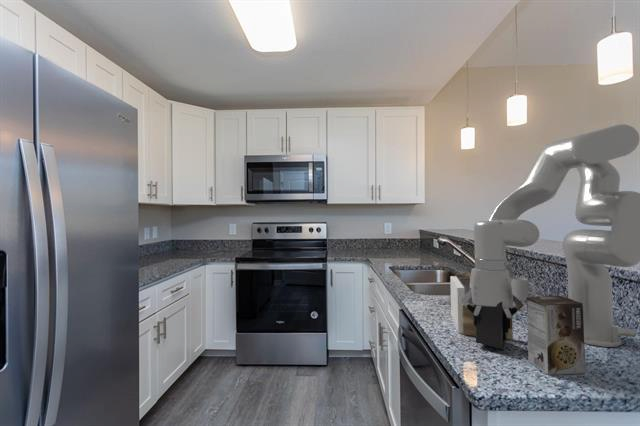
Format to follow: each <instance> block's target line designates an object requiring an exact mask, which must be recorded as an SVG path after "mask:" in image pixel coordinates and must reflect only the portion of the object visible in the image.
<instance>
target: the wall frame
mask: <svg viewBox="0 0 640 426" xmlns="http://www.w3.org/2000/svg"><path fill="white" fill-rule="evenodd" d="M449 277H450V295H451V306H450V315H451V318H452V320H453V323H454V325H455V328H456V331H457V333H458V334H462V335H464V334H463V317H462V304H463V303H462V302H461V301H460V299H461V298H462V297H463V296H465V288H464V287H463V285H462V284H461V282H460V281H459V280H458V278H457V277H456V276H455V275H454V276H453V275H451V276H449Z"/></svg>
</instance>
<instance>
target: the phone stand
mask: <svg viewBox="0 0 640 426" xmlns="http://www.w3.org/2000/svg"><path fill="white" fill-rule="evenodd" d="M504 314H505V312H504V310H503V307H502V302H500V303H498V304H497V307H486V306H482V307H481V309H480V312H479V316H480V317H481V320H480V323H479V324H478V319H477V331H476V336H475V343H477V344H481V345H484V346H489V347H492V348H497V349H502V347H503V346H504V345H505V343H506V341H507V340H508V339H507V333H506V332H505V331H504V330H503V317H504Z"/></svg>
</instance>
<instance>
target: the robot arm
mask: <svg viewBox="0 0 640 426" xmlns="http://www.w3.org/2000/svg"><path fill="white" fill-rule="evenodd" d="M639 144H640V134H639V132H638V131H637V129H636V128H635V127H633V126H631V125H628V124H625V123H624V124H623V123H622V124H615V125H612V126H609V127H605V128H602V129H597V130H593V131H589V132H585V133H582V134H578V135H575V136H571V137H567V138H563V139H559V140H555V141H552V142H550V143H548V144H546V145H544V146H543V147H542V148H541V150H540V152H539V153H538V154H537V156H536V158H535V160H534V161H533V163H532V166H531V167H530V169H529V170H528V173H527V174H526V175H525V178H524V180H523V182H522V183H521V184H520V185H519V186H517V188H515V189H514V190H513V191H511V192H510V194H509V195H508V196H506V197H505V198H504V199H503V200H501V202H500V203H499V204H498V205H497V206H496V208H495V209H494V211H493V213H492V214H491V216H490V217H489V219H488V220H479V221H477V222H475V223H474V225H473V235H474V236H473V239H474V240H473V242H474V245H473V247H474V267H473V268H471V271H470V275H469V276H470V291H469V292H468V293H467V294H466V295H465V296H463V297H462V298H461V299H460V301H461V302H462V303H463V304H464V305H465V306H466V307H467V308H468V309H469V310H470V311H471V312H472V313H473V322H474V326H476V328H477V319H478V324H479V323H480V320H481V317H480V316H479V312H480V309H481V307H482V306H486V307H497V304H498V303H500V302H502V307H503V310H504V312H505V314H504V317H503V330H504V331H505V332H506V333H508V329H510V318H511V317H512V318H513V316H514V315H515V314H516V313H517V312H518V311H519V310H521V309H522V308H523V307H524V305H525V304H523V303H524V302H523V301H519V300H518V299H517V298H516V297H515V296H514V295H513V292H512V285H511V279H510V277H511V275H510V272H509V269H507V268H508V267H513V262H512V261H510V260H507V257H506V247H507V246H508V247H517V248H527V247H531V246H533V245H535V243H537V241H538V240H539V239H540V229H539V227H538V226H537V225H536V224H535V223H533V222H531V221H530V220H525V219H519V217H521V215H523V214H524V213H525V212H527V211H528V210H530V209H533V208H535V207H536V206H539V205H542V204H544V203H547V202H548V201H550V200H552V199H553V198H554V197H555V196H556V195H557V193H558V191H559V189H560V188H561V185H562V183H563V182H564V180H565V179H566V176H567V175H568V173H569V171H570V170H572V169H576V170H577V171H578V173H579V177H580V182H579V189H578V195H577V199H576V206H575V211H574V212H575V213H574V214H575V215H574V216H575V218H576V220H577V221H578V222H579V223H581V224H583V225H587V226H597V227H611V229H610V230H605V229H589V228H588V229H585V228H583V229H576V230H572V231H570V232H568V233H566V234H565V236H564V237H563V240H562V250H563V254H564V258H565V262H566V268H567V269H566V270H567V298H569V299H572V300H574V301H577V302H580V303H583V321H584V344H586V345H590V346H597V347H602V348H603V347H604V348H614V347H620V346H621V345H622V339H621V337H622V336H625V337H629V338H630V337H631V338H632V337H634V338H635V337H637V332H636V331H635V329H634V328H633V329H631V328H630V329H629V328H623V327H622V326H616V325H614V316H613V315H614V314H613V313H614V312H613V281H612V280H613V279H612V276H611V273H610V272H609V270H608V268H607V266H612V267H618V268H631V267H634V266H636V265H638V264H639V263H640V192H637V191H633V190H623V191H620V182H621V177H620V173H619V171H618V170H617V169H616V167H615V166H614V165H612V163H611V162H610V161H612V160H615V159H619V158H623V157H625V156H628V155H630V154H631V153H633V152H634V151H635V150H636V149H637V147H638V146H639ZM469 299H470V300H471V301H472V302H473V304H474V306H472V305H470V304H469V303H468V300H469ZM509 307H510V308H509ZM508 308H509V309H508Z"/></svg>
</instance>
